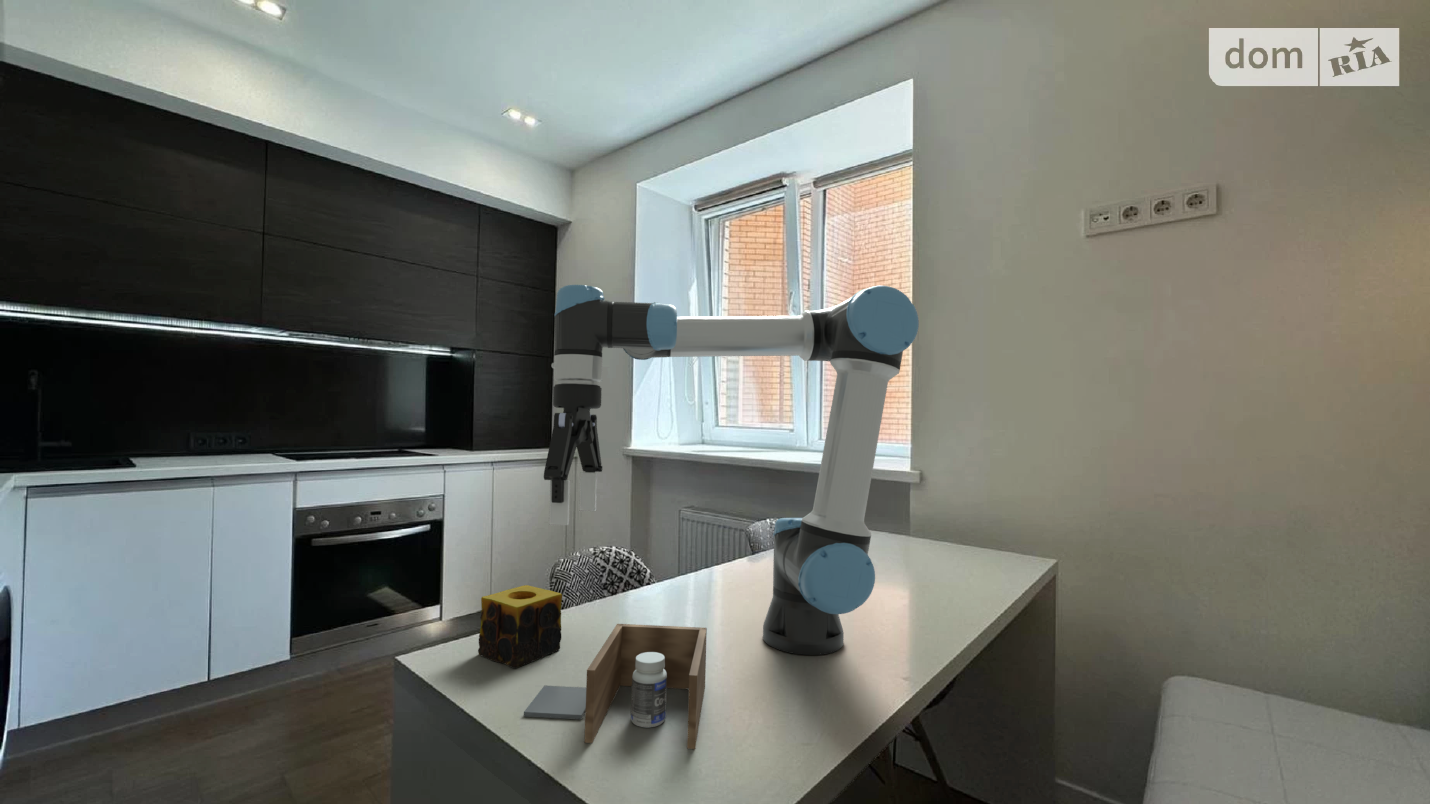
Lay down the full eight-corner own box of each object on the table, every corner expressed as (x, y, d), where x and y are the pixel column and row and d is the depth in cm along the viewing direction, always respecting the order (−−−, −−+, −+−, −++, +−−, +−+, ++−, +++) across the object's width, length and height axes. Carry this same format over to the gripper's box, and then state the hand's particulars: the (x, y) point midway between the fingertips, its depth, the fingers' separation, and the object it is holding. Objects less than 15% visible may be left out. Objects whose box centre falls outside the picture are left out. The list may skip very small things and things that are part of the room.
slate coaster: (596, 692, 86) (596, 688, 86) (581, 719, 78) (581, 714, 78) (544, 689, 86) (544, 685, 86) (523, 716, 78) (523, 711, 78)
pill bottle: (659, 730, 76) (661, 665, 76) (625, 726, 76) (627, 662, 77) (669, 713, 80) (671, 652, 80) (637, 709, 81) (639, 648, 81)
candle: (514, 670, 93) (517, 608, 93) (475, 656, 98) (478, 596, 98) (562, 650, 101) (564, 593, 102) (524, 637, 107) (526, 583, 107)
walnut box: (705, 687, 88) (706, 627, 89) (695, 749, 71) (697, 675, 72) (615, 682, 89) (617, 623, 90) (584, 742, 72) (586, 669, 73)
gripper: (580, 388, 105) (577, 505, 104) (522, 377, 80) (517, 530, 79) (620, 388, 104) (617, 506, 103) (574, 377, 79) (570, 532, 78)
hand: (574, 517), depth 91 cm, fingers open, 13 cm apart
